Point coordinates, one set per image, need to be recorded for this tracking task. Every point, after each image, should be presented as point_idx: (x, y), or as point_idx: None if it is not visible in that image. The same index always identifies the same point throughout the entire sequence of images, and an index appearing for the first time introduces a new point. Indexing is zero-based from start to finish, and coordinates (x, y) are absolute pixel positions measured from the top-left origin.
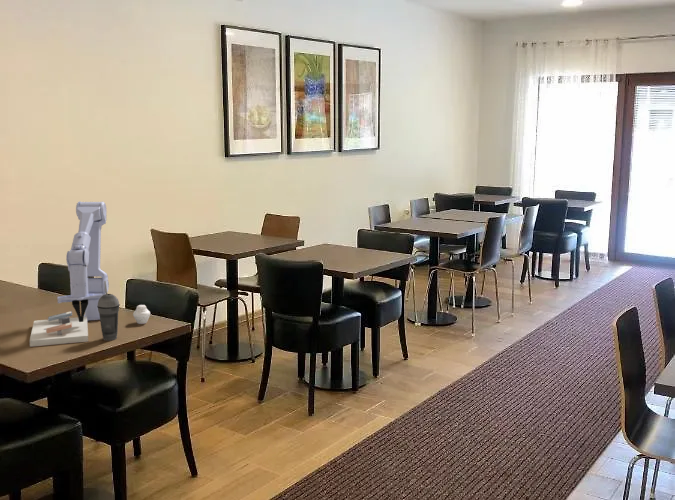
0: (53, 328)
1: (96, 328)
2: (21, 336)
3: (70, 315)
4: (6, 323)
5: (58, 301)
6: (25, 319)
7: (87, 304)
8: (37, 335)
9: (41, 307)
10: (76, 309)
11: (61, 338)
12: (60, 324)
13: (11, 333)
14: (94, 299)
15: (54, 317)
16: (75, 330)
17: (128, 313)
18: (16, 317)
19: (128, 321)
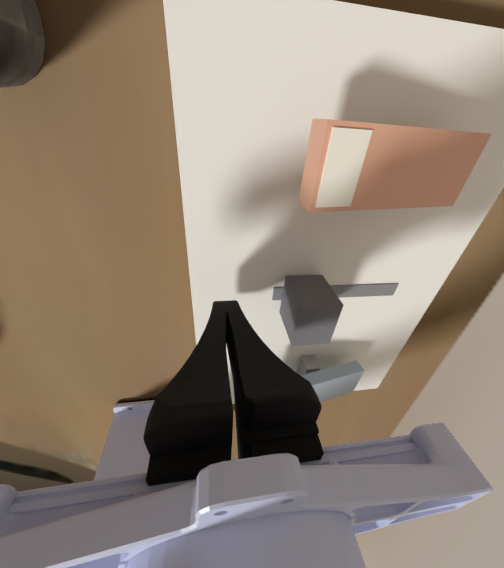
0: (446, 144)
1: (154, 310)
2: (453, 277)
3: None
4: (414, 398)
5: (450, 441)
6: (364, 417)
7: (154, 405)
8: (475, 181)
9: None
10: (268, 358)
11: (391, 13)
12: None
13: (456, 319)
14: (71, 493)
15: (340, 375)
16: (261, 218)
17: (63, 442)
18: (375, 428)
19: (17, 373)
